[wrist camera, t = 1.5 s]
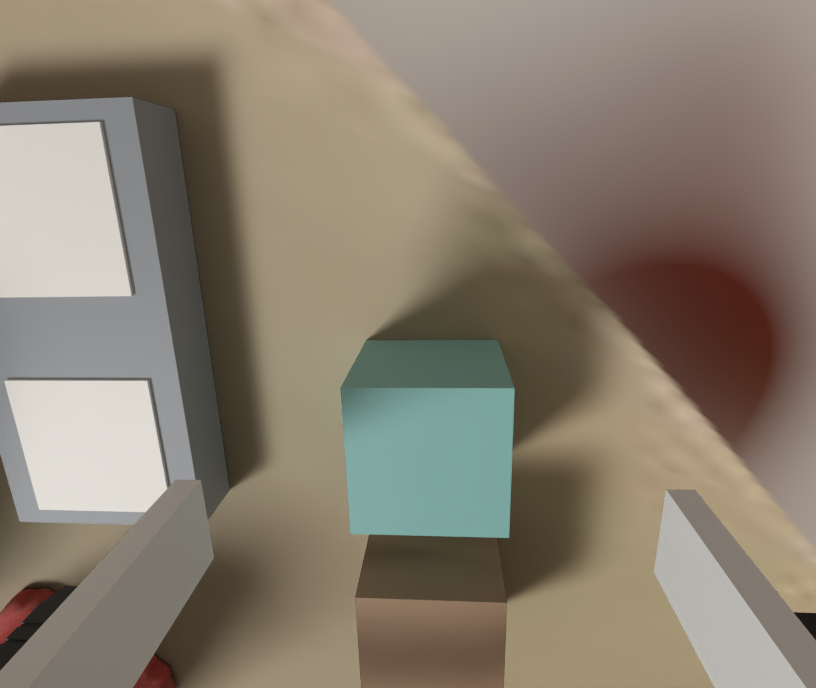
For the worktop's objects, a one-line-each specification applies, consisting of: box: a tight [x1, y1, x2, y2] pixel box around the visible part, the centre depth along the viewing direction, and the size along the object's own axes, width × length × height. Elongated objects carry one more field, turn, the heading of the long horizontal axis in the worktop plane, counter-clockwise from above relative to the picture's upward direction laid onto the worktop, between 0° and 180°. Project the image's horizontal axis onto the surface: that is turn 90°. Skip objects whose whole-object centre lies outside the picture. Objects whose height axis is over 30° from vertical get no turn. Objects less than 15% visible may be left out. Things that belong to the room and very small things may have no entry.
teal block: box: [341, 340, 515, 538], centre depth 21 cm, size 6×6×6 cm
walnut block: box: [355, 534, 507, 688], centre depth 24 cm, size 6×6×6 cm
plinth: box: [0, 97, 230, 525], centre depth 22 cm, size 18×9×3 cm, turn 1°
